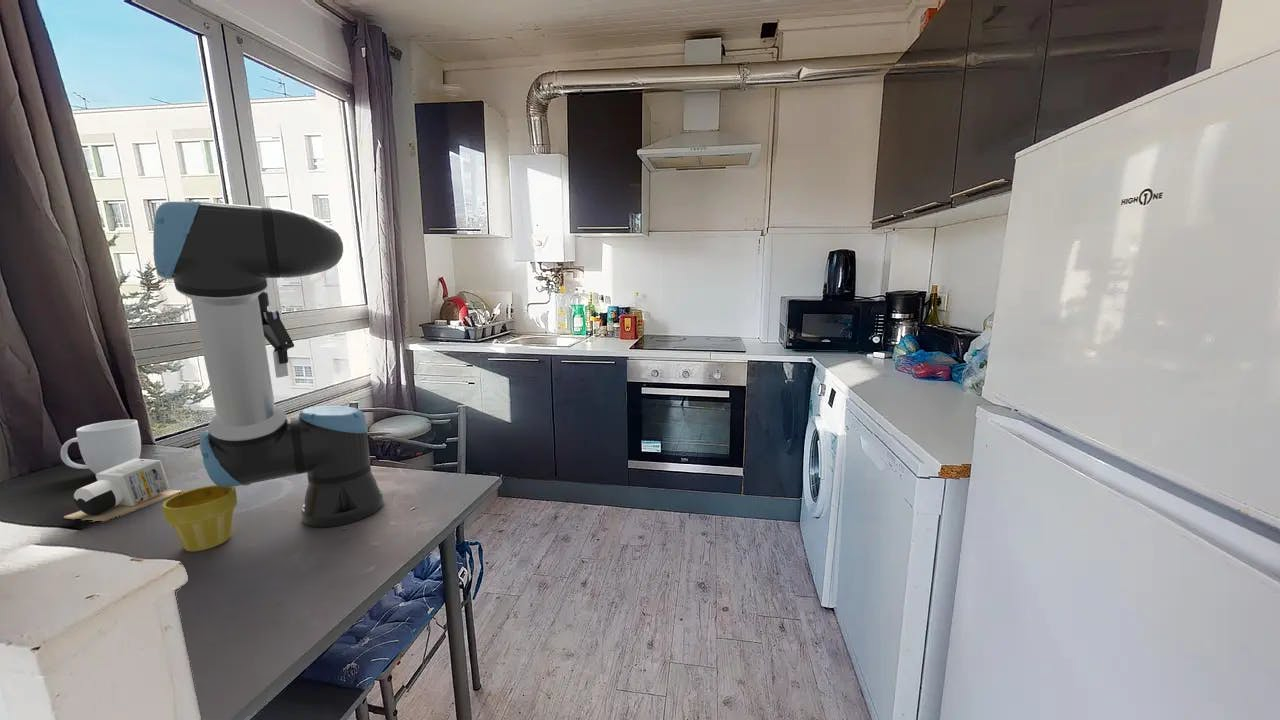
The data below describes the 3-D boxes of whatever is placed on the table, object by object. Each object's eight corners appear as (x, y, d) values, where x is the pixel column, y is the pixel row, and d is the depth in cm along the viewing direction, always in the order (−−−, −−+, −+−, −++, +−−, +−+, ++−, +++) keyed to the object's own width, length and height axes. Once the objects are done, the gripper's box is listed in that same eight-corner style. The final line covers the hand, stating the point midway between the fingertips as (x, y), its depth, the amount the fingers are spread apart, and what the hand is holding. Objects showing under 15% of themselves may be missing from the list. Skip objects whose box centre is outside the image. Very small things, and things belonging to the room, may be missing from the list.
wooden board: (183, 492, 114) (183, 490, 114) (103, 522, 100) (103, 520, 100) (146, 489, 116) (146, 487, 116) (63, 518, 102) (63, 516, 102)
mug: (53, 486, 118) (42, 436, 116) (78, 471, 128) (68, 424, 126) (135, 474, 125) (126, 427, 123) (153, 461, 135) (145, 417, 133)
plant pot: (164, 564, 84) (155, 513, 83) (176, 540, 93) (167, 493, 91) (239, 545, 90) (232, 497, 89) (244, 524, 99) (237, 479, 97)
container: (171, 488, 113) (102, 521, 101) (145, 486, 114) (75, 518, 102) (161, 459, 111) (90, 489, 99) (135, 457, 112) (62, 486, 100)
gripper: (304, 290, 118) (314, 374, 121) (221, 291, 122) (233, 371, 125) (276, 291, 110) (288, 380, 114) (189, 291, 115) (203, 377, 118)
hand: (259, 375), depth 120 cm, fingers open, 13 cm apart
